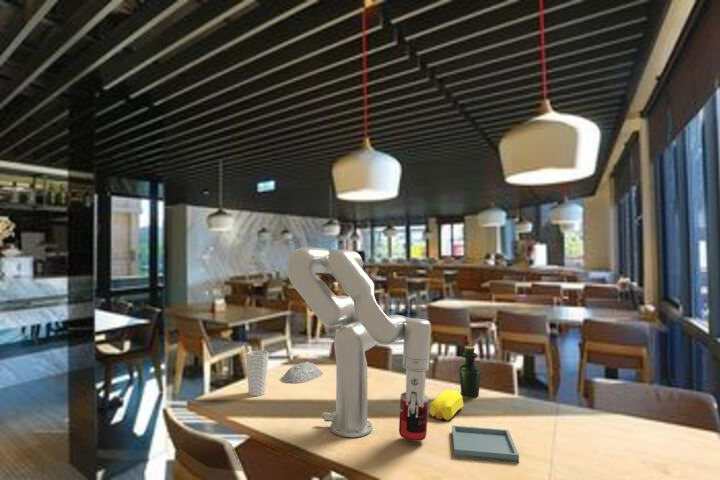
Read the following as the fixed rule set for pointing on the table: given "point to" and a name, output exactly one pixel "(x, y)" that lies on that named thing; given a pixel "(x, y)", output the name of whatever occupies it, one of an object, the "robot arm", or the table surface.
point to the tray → (484, 444)
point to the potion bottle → (469, 374)
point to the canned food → (421, 425)
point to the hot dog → (446, 404)
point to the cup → (257, 371)
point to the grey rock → (301, 373)
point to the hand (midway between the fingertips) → (413, 424)
